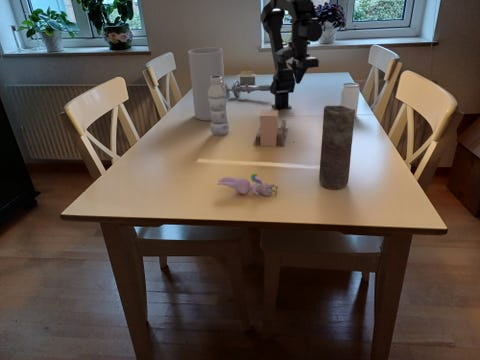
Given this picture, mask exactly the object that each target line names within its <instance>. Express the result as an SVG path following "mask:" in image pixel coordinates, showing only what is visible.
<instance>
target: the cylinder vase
mask: <svg viewBox="0 0 480 360" xmlns="http://www.w3.org/2000/svg"><path fill="white" fill-rule="evenodd" d="M223 54H224V53H223V49H222V48H220V47H204V48H203V47H200V48H193V49H190V50H188V62H189V63H188V64H189V72H190V80H191V89H192V90H191V91H192V99H193V108H194V109H193V110H194V116H195V118H196V119H197V120H200V121H205V122H206V121H207V122H208V121H210V122H211V109H210V103H209V99H208V90H209V88H210V86H211V82H210V81H211V76H221V77H222V83H221V84H222V85H223V86H224V88H225V71H224V69H225V67H224V55H223Z"/></svg>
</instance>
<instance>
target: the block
mask: <svg viewBox="0 0 480 360" xmlns="http://www.w3.org/2000/svg"><path fill="white" fill-rule="evenodd" d="M259 128H260V146H259V147H272V148H273V147H275V148H276V146H277V137H278V128H279V110H262V111H261V113H260V115H259Z"/></svg>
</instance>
